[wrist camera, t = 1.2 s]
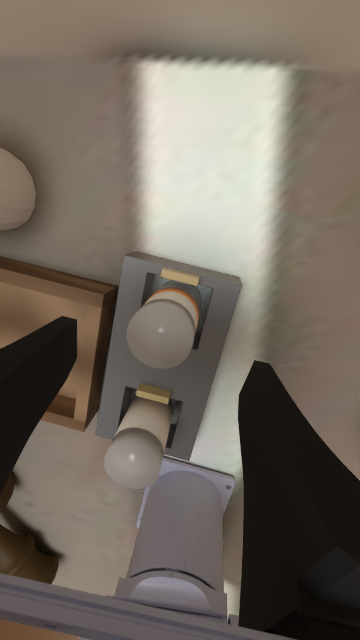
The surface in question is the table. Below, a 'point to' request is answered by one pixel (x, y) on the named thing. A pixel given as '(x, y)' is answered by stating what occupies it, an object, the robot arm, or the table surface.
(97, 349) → the tray
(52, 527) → the table surface
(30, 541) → the kendama
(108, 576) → the table surface
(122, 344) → the fuse holder
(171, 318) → the marked fuse
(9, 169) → the white tapered cup
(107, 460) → the plain fuse
